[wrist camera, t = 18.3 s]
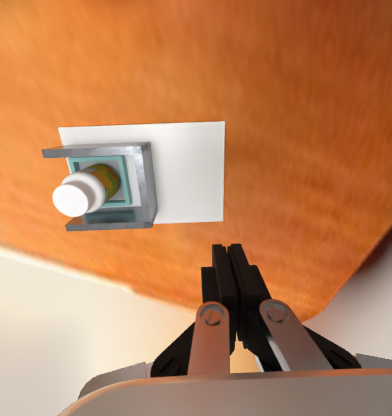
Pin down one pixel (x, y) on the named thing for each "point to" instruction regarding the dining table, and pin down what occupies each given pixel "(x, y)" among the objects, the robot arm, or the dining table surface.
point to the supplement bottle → (86, 190)
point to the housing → (116, 215)
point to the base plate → (163, 166)
